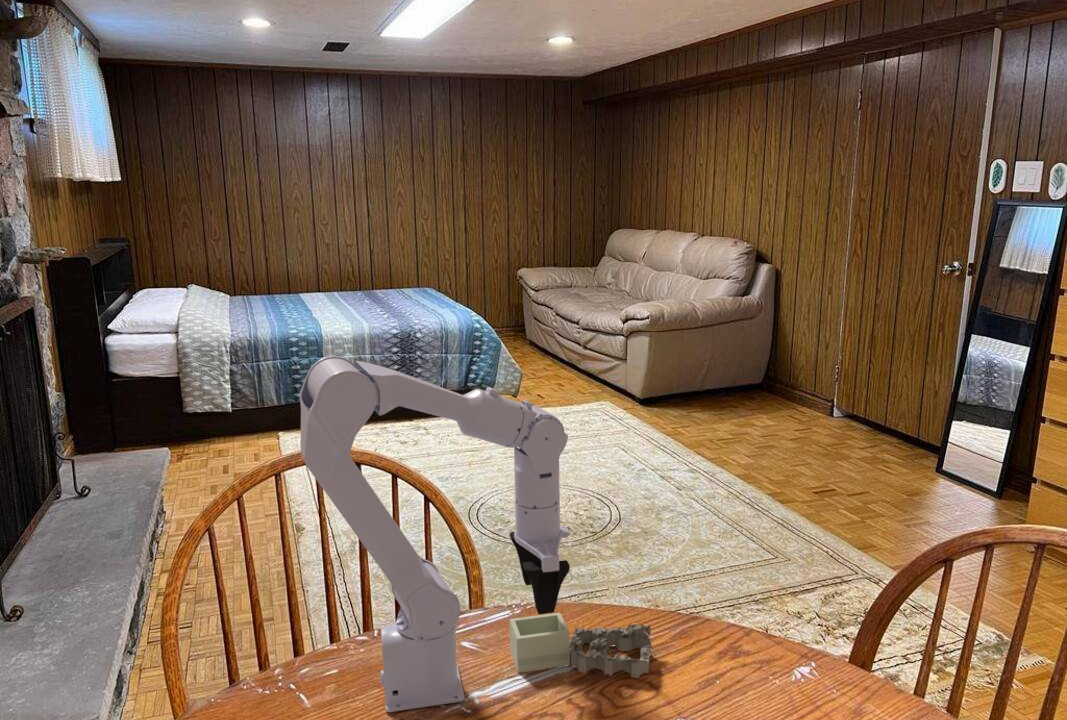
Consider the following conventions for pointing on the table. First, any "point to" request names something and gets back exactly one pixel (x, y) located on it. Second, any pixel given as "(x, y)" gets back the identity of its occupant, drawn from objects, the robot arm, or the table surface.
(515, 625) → the box
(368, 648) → the table surface
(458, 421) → the robot arm
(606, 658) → the egg carton
